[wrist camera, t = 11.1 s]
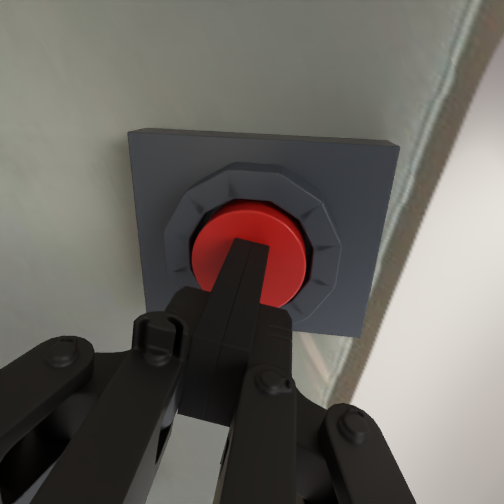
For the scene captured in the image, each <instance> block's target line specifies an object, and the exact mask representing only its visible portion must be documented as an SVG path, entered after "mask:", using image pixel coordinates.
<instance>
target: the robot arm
mask: <svg viewBox="0 0 504 504" xmlns="http://www.w3.org/2000/svg"><path fill="white" fill-rule="evenodd" d="M269 249H270V246H269V245H264V244H260V243H256V242H252V241H248V240H244V239H240V238H236V237H235V238H234V241H233V243H232V245H231V247H230V249H229V252H228V254H227V256H226V258H225V261H224V263H223V265H222V267H221V270H220V272H219V274H218V276H217V279H216V281H215V283H214V285H213V288H212V290H211V292H209V291H205V290H201V289H197V288H193V287H189V286H185V287H184V288H182V289H180V290H178V291H177V292H175V294H174V296H173V297H172V299H171V300H170V303H169V304H168V305H167V307H166V309H165V310H164V311H154V312H148V313H145V314H143V315H140V316H139V317H138V318H137V319H136V320H135V321H134V325H133V337H132V348H131V349H130V350H128V351H124V352H115V353H94V348H93V346H92V344H91V343H90V342H89V341H87V340H86V339H84V338H81V337H77V336H60V337H55V338H51V339H49V340H47V341H45V342H43V343H41V344H39V345H37V346H36V347H34V348H33V349H31V350H30V351H28V352H27V353H25V354H24V355H22V356H20V357H19V358H17V359H16V360H14V361H13V362H11V363H10V364H8V365H7V366H5V367H3V368H2V369H0V504H145V502H146V499H147V496H148V494H149V491H150V488H151V486H152V483H153V480H154V477H155V475H156V472H157V469H158V467H159V464H160V461H161V459H162V456H163V453H164V451H165V448H166V445H167V443H168V440H169V437H170V434H171V431H172V425H173V420H174V417H175V414H176V411H177V409H178V413H177V414H181V415H185V416H189V417H193V418H196V419H200V420H204V421H208V422H212V423H216V424H220V425H224V426H228V427H230V428H229V433H228V437H227V440H226V444H225V448H224V451H223V455H222V459H221V462H220V464H221V467H220V472H219V477H218V482H217V486H216V491H215V496H214V501H213V504H416V501H415V499H414V497H413V495H412V494H411V491H410V489H409V487H408V485H407V483H406V481H405V479H404V477H403V475H402V473H401V471H400V469H399V467H398V465H397V463H396V461H395V459H394V457H393V455H392V453H391V450H390V448H389V446H388V445H387V442H386V440H385V438H384V436H383V435H382V432H381V430H380V428H379V427H378V425H377V424H376V423H375V421H374V420H373V419H372V418H371V417H370V416H369V415H368V414H367V413H366V412H365V411H363V410H361V409H359V408H357V407H356V406H354V405H349V404H345V403H341V404H334V405H333V406H331V407H330V408H329V409H328V410H326V409H324V408H322V407H321V406H319V405H317V404H315V403H313V402H312V401H310V400H309V399H307V398H306V397H305V396H303V395H302V394H301V393H300V392H299V390H298V389H297V388H296V385H295V381H294V380H293V378H292V318H291V317H290V315H289V313H288V311H287V310H285V309H281V308H277V307H273V306H269V305H265V304H261V303H260V299H261V293H262V288H263V282H264V277H265V271H266V265H267V260H268V254H269ZM178 406H179V407H178Z"/></svg>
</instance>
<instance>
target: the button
mask: <svg viewBox="0 0 504 504" xmlns="http://www.w3.org/2000/svg"><path fill="white" fill-rule="evenodd" d="M235 237H236V238H240V239H244V240H248V241H252V242H256V243H260V244H264V245H269V246H270V249H269V254H268V260H267V265H266V271H265V277H264V282H263V288H262V293H261V299H260V303H261V304H265V305H269V306H273V307H277V308H279V307H281V306H282V305H284V304H285V303H287V302H288V301H289V300H290V299H291V298H292V297H293V296H294V295H295V294H296V293H297V291H298V290H299V289H300V287H301V285H302V283H303V280H304V277H305V272H306V251H305V239H304V235H303V232H302V230H301V227H300V225H299V224H298V222H297V221H296V219H295V218H294V217H293V216H292V215H291V214H289V213H288V212H286V211H285V210H283V209H282V208H280V207H278V206H277V205H275V204H274V203H272V202H271V201H264V200H250V199H237V200H233V201H231V202H228V203H227V204H225V205H223V206H222V207H220V208H219V209H218V210H217V211H216V212H215V213H214V214H213V215H212V216H211V218H210V219H209V220H208V222H207V223H206V224H205V226H204V227H203V229H202V230H201V231H200V233H199V234H198V236H197V238H196V240H195V243H194V246H193V251H192V266H193V271H194V274H195V277H196V279H197V281H198V283H199V285H200V286H201V288H202V289H203V290H205V291H209V292H211V290H212V288H213V285H214V283H215V281H216V279H217V276H218V274H219V272H220V270H221V267H222V265H223V263H224V261H225V258H226V256H227V254H228V252H229V249H230V247H231V245H232V243H233V241H234V238H235Z"/></svg>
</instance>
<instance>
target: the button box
mask: <svg viewBox="0 0 504 504" xmlns="http://www.w3.org/2000/svg"><path fill="white" fill-rule="evenodd" d="M128 142H129V151H130V161H131V170H132V180H133V189H134V199H135V208H136V218H137V227H138V237H139V246H140V256H141V265H142V275H143V284H144V294H145V303H146V313H148V312H154V311H164V310H165V309H166V307H167V305H168V304H169V303H170V300H171V299H172V297H173V296H174V294H175V292H177V291H178V290H180V289H182V288H184V287H185V286H189V287H193V288H197V289H201V290H203V289H202V288H201V286H200V285H199V283H198V281H197V279H196V277H195V274H194V271H193V266H192V251H193V246H194V243H195V240H196V238H197V236H198V234H199V233H200V231H201V230H202V229H203V227H204V226H205V224H206V223H207V222H208V220H209V219H210V218H211V216H212V215H213V214H214V213H215V212H216V211H217V210H218V209H219V208H220V207H222V206H223V205H225V204H227V203H228V202H231V201H233V200H237V199H250V200H264V201H271V202H272V203H274V204H275V205H277V206H278V207H280V208H282V209H283V210H285V211H286V212H288V213H289V214H291V215H292V216H293V217H294V218H295V219H296V221H297V222H298V224H299V225H300V227H301V230H302V232H303V235H304V239H305V251H306V272H305V277H304V280H303V283H302V285H301V287H300V289H299V290H298V291H297V293H296V294H295V295H294V296H293V297H292V298H291V299H290V300H289V301H288V302H287V303H285V304H284V305H282V306H281V307H279V308H281V309H285V310H287V311H288V313H289V315H290V317H291V318H292V331H299V332H308V333H318V334H328V335H337V336H347V337H356V338H360V337H361V333H362V328H363V323H364V318H365V314H366V309H367V304H368V299H369V294H370V290H371V285H372V280H373V275H374V271H375V266H376V261H377V256H378V251H379V247H380V242H381V237H382V232H383V227H384V223H385V218H386V213H387V208H388V203H389V199H390V194H391V189H392V184H393V179H394V175H395V170H396V165H397V160H398V155H399V151H400V146H398V145H396V144H393V143H391V142H389V141H386V140H367V139H348V138H329V137H310V136H291V135H272V134H253V133H233V132H214V131H195V130H176V129H157V128H144V129H139V130H134V131H129V132H128Z"/></svg>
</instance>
